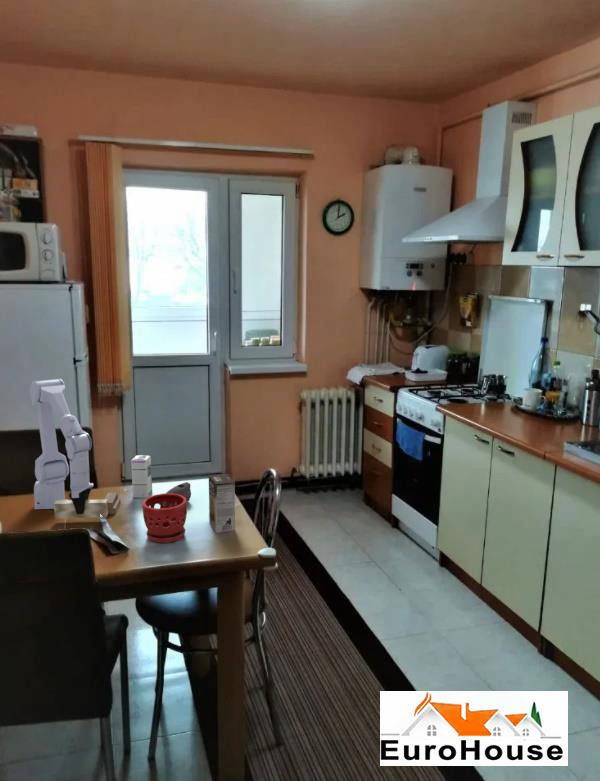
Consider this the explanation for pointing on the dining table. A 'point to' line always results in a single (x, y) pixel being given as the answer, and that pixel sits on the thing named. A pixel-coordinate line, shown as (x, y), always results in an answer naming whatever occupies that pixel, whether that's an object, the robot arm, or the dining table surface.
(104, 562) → the dining table surface
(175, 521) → the plant pot
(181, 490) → the perforated stone tool
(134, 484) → the syrup box
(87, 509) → the metal bar
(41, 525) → the dining table surface
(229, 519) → the coffee box
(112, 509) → the walnut ridge
